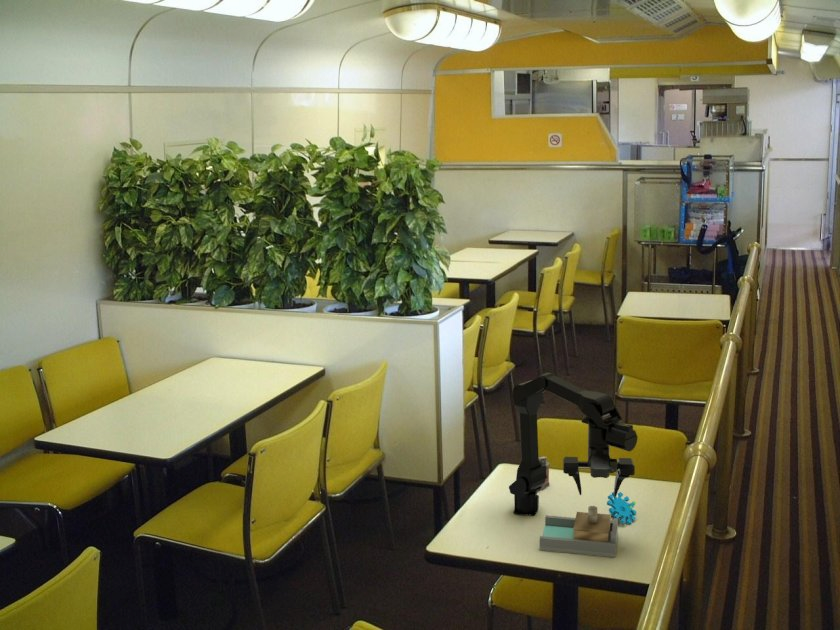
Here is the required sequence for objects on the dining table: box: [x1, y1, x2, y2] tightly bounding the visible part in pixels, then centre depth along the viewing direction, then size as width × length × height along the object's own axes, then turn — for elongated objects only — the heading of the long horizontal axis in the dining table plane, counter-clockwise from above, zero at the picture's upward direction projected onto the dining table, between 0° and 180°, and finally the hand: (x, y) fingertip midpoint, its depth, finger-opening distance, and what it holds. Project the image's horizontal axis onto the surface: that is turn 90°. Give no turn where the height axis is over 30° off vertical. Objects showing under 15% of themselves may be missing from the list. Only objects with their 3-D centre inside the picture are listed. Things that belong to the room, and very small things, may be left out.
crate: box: [573, 505, 612, 542], centre depth 249 cm, size 9×10×9 cm
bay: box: [539, 514, 619, 558], centre depth 250 cm, size 20×14×5 cm
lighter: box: [537, 455, 551, 493], centre depth 284 cm, size 8×3×10 cm, turn 134°
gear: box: [606, 491, 637, 525], centre depth 264 cm, size 11×6×10 cm
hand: (597, 495), depth 249 cm, fingers open, 9 cm apart
